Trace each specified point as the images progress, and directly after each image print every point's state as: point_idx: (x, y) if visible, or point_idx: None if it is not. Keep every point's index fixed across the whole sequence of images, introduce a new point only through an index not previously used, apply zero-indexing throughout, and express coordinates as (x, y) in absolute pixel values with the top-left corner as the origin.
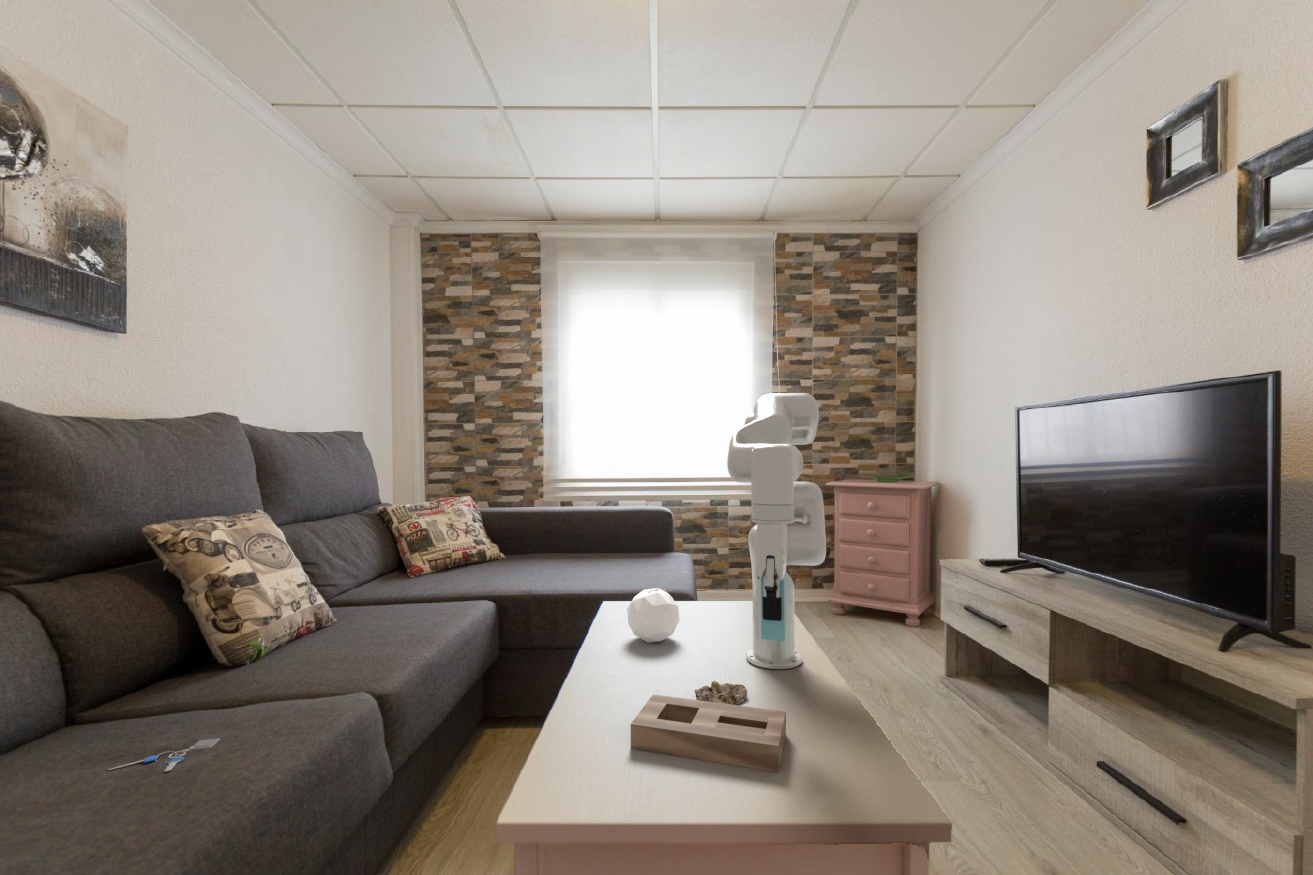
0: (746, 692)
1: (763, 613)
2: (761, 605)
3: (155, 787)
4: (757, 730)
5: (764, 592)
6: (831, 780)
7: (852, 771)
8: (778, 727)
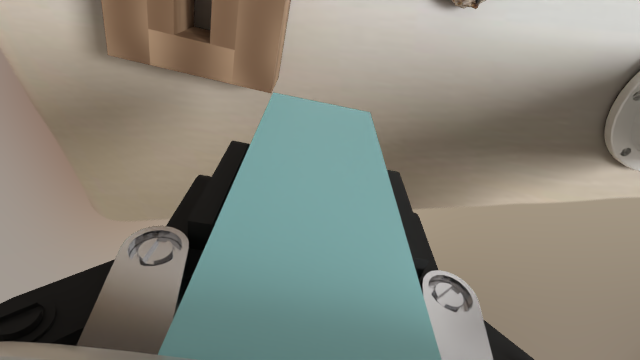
0: (462, 5)
1: (223, 156)
2: (239, 171)
3: None
4: (161, 13)
5: (115, 264)
6: (144, 128)
7: (180, 162)
8: (191, 66)
